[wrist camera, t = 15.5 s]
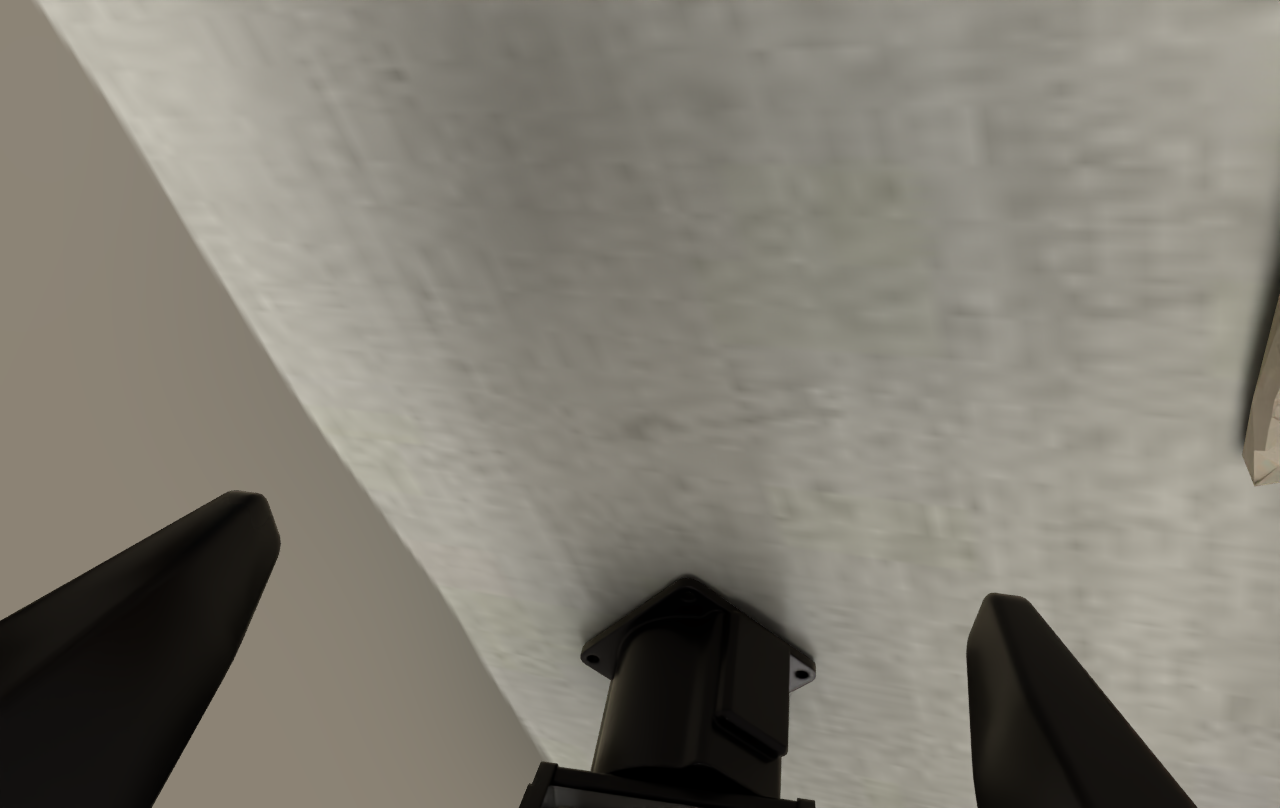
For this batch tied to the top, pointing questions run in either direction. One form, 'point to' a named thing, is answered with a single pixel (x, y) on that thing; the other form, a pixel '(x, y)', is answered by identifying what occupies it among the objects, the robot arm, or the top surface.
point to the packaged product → (1266, 415)
